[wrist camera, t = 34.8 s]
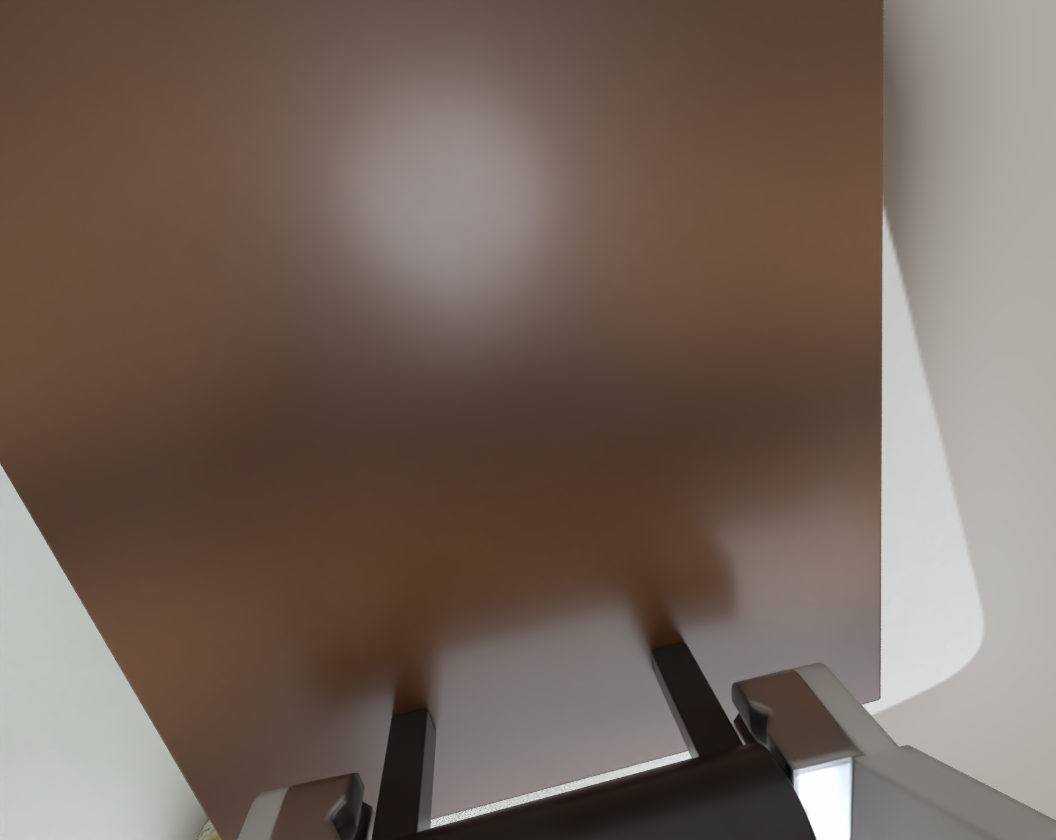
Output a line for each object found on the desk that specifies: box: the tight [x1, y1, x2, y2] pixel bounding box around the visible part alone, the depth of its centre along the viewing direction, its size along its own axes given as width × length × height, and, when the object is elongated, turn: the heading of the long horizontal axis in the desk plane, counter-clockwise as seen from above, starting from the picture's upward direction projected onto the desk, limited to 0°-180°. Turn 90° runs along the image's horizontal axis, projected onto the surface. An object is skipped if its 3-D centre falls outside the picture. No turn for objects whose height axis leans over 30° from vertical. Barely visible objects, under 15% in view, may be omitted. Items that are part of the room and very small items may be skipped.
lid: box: [0, 0, 883, 840], centre depth 7 cm, size 15×14×5 cm
